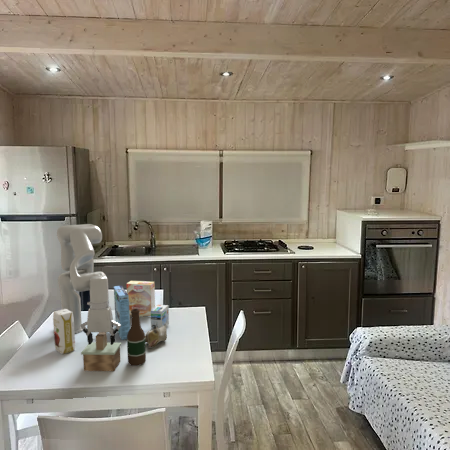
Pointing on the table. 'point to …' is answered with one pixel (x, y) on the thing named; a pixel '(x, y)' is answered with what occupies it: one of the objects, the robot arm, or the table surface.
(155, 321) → the light bulb box
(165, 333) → the ceramic sculpture
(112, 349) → the lid
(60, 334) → the juice carton
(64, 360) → the table surface
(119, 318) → the gum box
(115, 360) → the crate
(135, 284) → the coffeecake box
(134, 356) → the beer bottle
